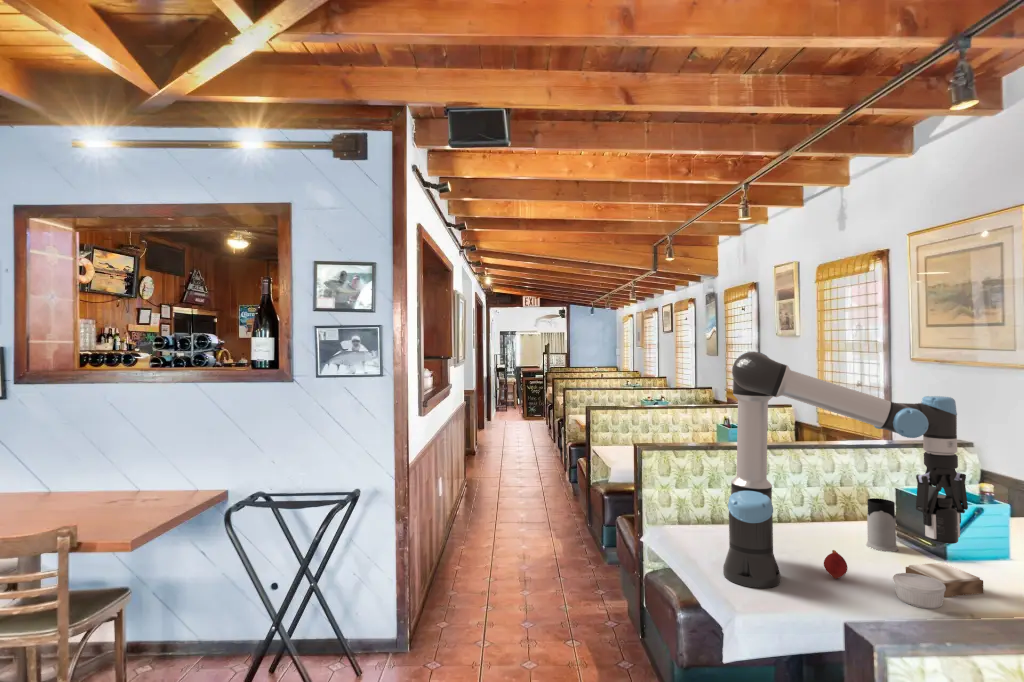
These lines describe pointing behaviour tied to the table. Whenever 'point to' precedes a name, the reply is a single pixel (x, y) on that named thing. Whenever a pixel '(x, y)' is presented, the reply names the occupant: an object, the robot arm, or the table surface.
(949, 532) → the supplement bottle
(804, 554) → the table surface
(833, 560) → the onion
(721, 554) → the table surface
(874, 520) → the glass holder
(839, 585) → the table surface
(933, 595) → the ramekin
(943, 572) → the plinth
